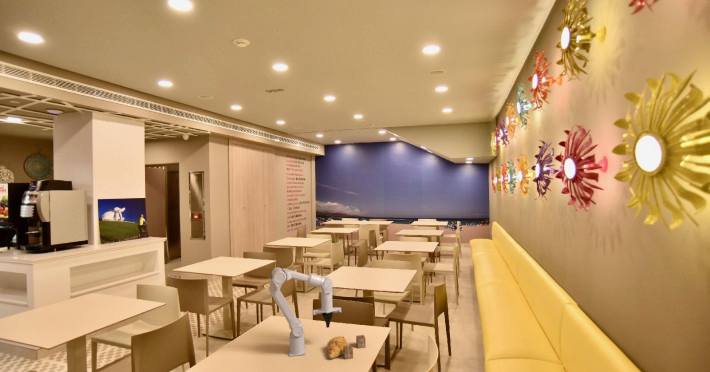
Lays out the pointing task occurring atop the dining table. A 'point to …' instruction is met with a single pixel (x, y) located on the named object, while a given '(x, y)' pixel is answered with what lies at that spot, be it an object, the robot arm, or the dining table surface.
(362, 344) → the number block seven
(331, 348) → the croissant
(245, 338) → the dining table surface
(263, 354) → the dining table surface
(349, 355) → the number block one
